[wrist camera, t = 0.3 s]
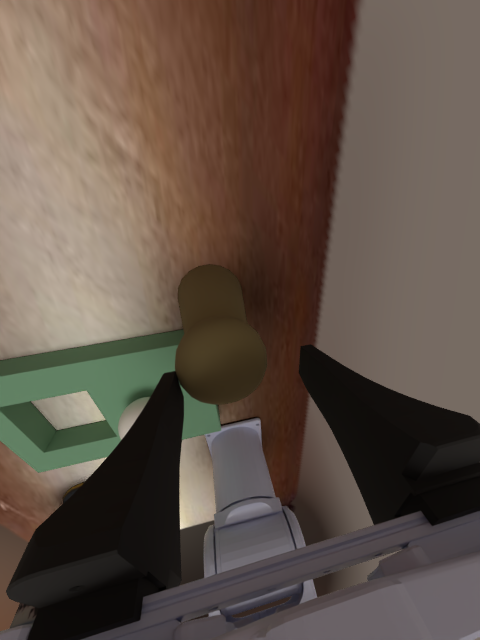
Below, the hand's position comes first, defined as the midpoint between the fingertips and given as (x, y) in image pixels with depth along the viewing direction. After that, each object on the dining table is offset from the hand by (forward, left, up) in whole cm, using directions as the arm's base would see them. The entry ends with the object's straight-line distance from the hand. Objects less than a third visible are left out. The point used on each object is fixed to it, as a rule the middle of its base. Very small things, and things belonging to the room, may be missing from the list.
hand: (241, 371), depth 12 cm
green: (-9, +13, -10) cm, 19 cm away
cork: (+1, +1, -10) cm, 10 cm away
